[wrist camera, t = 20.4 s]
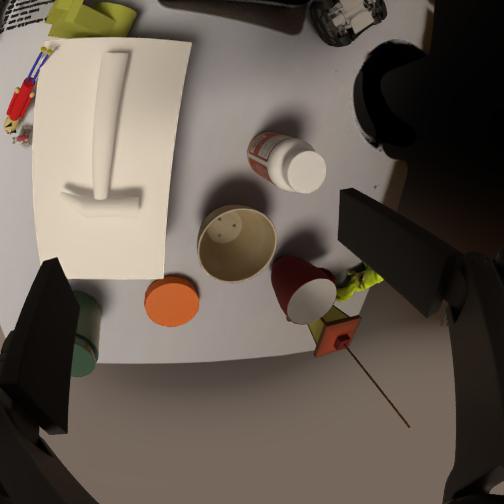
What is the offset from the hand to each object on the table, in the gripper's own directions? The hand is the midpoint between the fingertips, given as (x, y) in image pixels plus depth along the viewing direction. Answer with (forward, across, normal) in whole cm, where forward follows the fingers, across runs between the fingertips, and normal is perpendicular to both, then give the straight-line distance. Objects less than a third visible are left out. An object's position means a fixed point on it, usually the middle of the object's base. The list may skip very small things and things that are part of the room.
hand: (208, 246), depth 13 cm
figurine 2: (+26, +18, -7) cm, 33 cm away
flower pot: (+27, -6, +12) cm, 30 cm away
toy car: (+23, -27, -18) cm, 40 cm away
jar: (+26, +19, +20) cm, 38 cm away
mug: (+26, -16, +22) cm, 38 cm away
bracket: (+20, +10, -21) cm, 31 cm away
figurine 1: (+18, +9, -17) cm, 27 cm away
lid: (+25, +4, +22) cm, 33 cm away
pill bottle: (+27, -13, +3) cm, 30 cm away
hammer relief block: (+26, +7, -2) cm, 27 cm away
